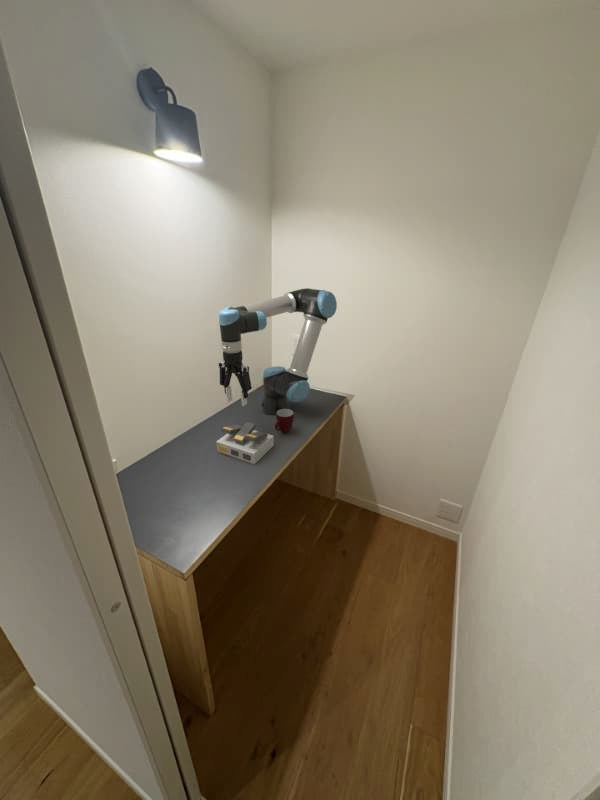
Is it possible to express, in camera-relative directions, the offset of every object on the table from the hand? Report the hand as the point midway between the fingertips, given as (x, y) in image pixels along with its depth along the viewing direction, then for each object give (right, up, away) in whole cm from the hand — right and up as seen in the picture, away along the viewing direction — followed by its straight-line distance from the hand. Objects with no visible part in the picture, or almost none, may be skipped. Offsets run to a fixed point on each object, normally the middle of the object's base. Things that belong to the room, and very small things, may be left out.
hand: (237, 402), depth 133 cm
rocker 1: (-2, -11, +2) cm, 12 cm away
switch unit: (+3, -20, +3) cm, 20 cm away
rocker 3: (+9, -14, -3) cm, 17 cm away
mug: (+19, -14, +15) cm, 28 cm away
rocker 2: (+3, -13, -1) cm, 13 cm away
